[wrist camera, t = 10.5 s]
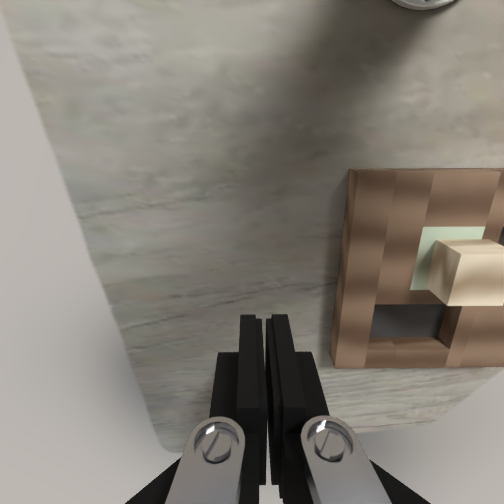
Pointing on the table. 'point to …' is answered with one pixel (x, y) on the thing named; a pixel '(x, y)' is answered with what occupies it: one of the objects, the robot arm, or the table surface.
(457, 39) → the table surface
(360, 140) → the table surface
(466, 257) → the birch block
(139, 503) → the robot arm
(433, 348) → the board
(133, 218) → the table surface
